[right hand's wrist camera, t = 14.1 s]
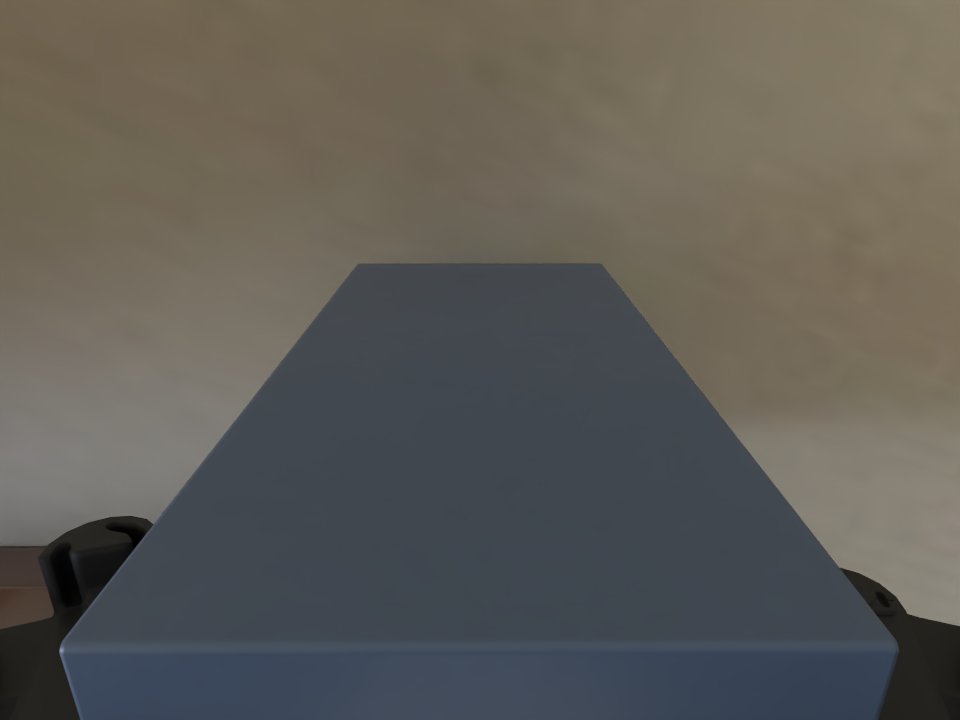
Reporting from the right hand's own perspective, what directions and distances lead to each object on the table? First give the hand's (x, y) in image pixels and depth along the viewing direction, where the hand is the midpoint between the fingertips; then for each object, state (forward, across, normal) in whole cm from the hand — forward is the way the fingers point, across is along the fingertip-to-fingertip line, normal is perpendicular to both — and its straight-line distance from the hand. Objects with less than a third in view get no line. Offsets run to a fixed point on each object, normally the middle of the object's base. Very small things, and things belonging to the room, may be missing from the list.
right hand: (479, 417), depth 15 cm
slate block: (+2, 0, 0) cm, 2 cm away
